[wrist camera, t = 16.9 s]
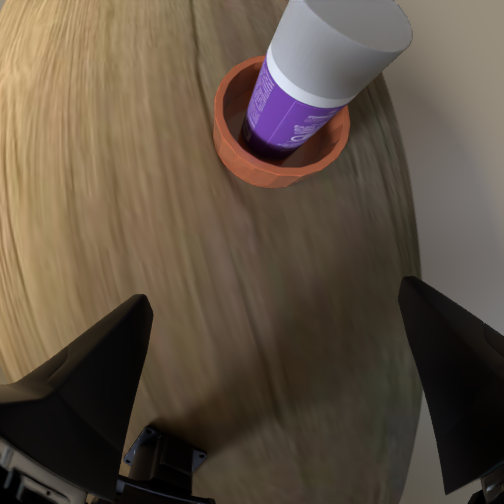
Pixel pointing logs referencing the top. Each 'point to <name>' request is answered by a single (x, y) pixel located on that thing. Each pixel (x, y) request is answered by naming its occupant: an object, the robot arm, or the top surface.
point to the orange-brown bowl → (245, 162)
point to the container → (319, 68)
